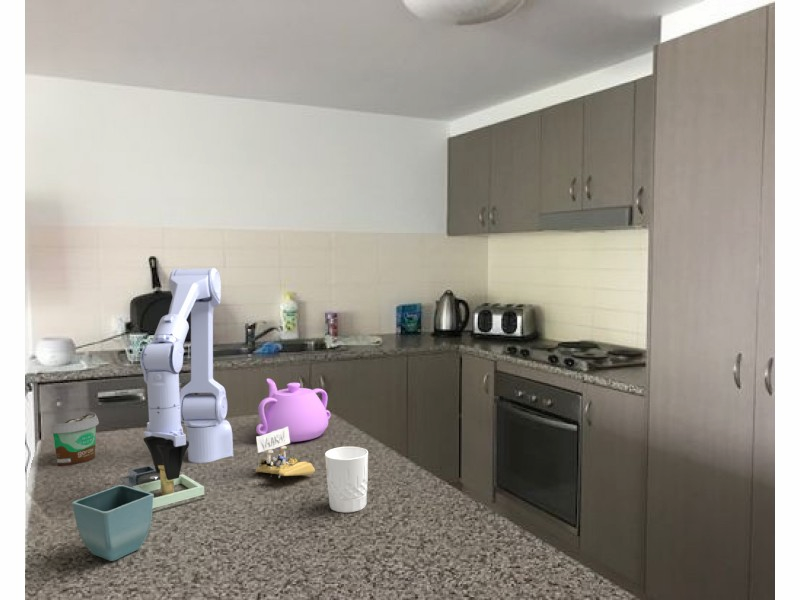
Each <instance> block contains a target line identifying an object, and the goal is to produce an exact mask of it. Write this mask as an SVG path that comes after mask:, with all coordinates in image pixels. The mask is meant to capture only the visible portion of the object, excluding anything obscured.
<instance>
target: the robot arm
mask: <svg viewBox="0 0 800 600" xmlns="http://www.w3.org/2000/svg"><path fill="white" fill-rule="evenodd" d="M168 285H169V291H170V293H171V296H172V299H171V302H170V305H169V310H168V314H165V315H163V316H162V317H161V318H160V320H159V323H158V325H157V328H156V330H155V333H154V335H153V337H152V340H151V343H148V344H147V345H145V346H144V347H142V350H141V353H140V361H139V363H140V369H141V371H142V374H143V381H144V384H146V387H147V388H146V390H147V405H148V422H146V429H145V430H143V431H142V435H143V436H144V437H143V438H142V439H143V442H144V443H145V445H146V447H147V449H148V451H149V453H150V456H151V458H152V462H153V465H154V466H153V467H154V468H155V470H156V472H157V473H160V469H158V465H159V464H160V463H164V469H165V474H166V477H167V480H172V479H176V478H179V476H180V475H181V472H182V471H181V470H182V465H183V462H184V461H183V460H184V457H185V454H186V452H187V457H188V461H189V462H190V463H194V464H196V463H197V464H203V463H210V462H215V461H218V460H222V459H224V458H229V457H234V443H233V429H232V425H231V424H230V422H229V421H228V420H227V419H226V417H227V413H228V399H227V394H226V393H227V392H226V389H225V388H226V387H224V386H223V385H222V384H220V383H219V382H218V381H216V380H215V379H214V363H213V362H214V338H213V337H214V332H213V331H214V309H215V307H217V306H219V305H220V304H221V299H222V298H221V297H222V296H221V295H222V292H221V291H222V288H221V286H222V282H221V276H220V273H219V270H217V269H216V268H215V267H211V268H183V269H182V268H181V269H179V268H174V269H173V270H172V271H171V272H170V274H169V279H168ZM189 315H190V324H189V322H188V321H187V319H188V317H189ZM189 325H190V326H189ZM189 329H190V381H189V382H188V383H186V384H185V385H184V386H183V387H182V388H181V389H180V377H179V375H180V374H179V373H180V372H181V370H182V368H183V363H184V353H185V349H184V343H185V340H186V338H187V334H188V332H189ZM204 393H205V394H204ZM207 393H208V394H207ZM182 423H183V425H184V427H186V433H184V429H183V425H182ZM186 434H187V436H186Z"/></svg>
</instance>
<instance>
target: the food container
mask: <svg viewBox="0 0 800 600" xmlns="http://www.w3.org/2000/svg"><path fill="white" fill-rule="evenodd" d="M99 421H100V420H99V419H98V416H97V414H96V413H95V412H92V411H85V415H83V416H81V417H78V418H72V419H68V420H67V421H65V422H64V423H52V424H51V428H50V434H53V442H54V448H55V455H56V457H55V458H56V464H57V466H58V467H68V466H69V467H70V466H74V465H78V464H83V463H88V462H91V461H92V460H94V459H95V458H96V437H97V436H96V435H97V434H96V432H97V431H96V430H97V426H98V425H99V423H100V422H99ZM90 460H91V461H90Z"/></svg>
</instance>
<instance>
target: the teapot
mask: <svg viewBox="0 0 800 600" xmlns="http://www.w3.org/2000/svg"><path fill="white" fill-rule="evenodd" d="M266 382H267V386H268V397H265V398H264V399H262V400H261V401H260V402H259V403H258V406H257V407H258V408H257V410H258V411H257V412H258V415H259V418H260V423H258V424H257V425H256V428H255V430H256V431H255V432H256V434H258V436H262V435H264V434H268V433H271V432H272V431H276V430H279V429H283V428H285V427H288V430H289V438H290V443H289V444H293V443H298V442H303V441H309V440H314V439H316V438H319V437H320V436H322V435H323V433H324V432H325V431H326V430H327V429H328V427H329V420H330V418H331V416H332V415H331V412H330V410H328V409H327V406H328V398H329V397H328V393H327V392H326V390H324V389H323V388H314V389H311V388H305V387H301V383H300V382H290V383H287V384H286V387H287V388H283V389H279V390H278V388H277V384H276V383H275V381H274V380H273V379H271V378H270V377H268V378H266ZM318 394H321V399H320V398H319V395H318Z"/></svg>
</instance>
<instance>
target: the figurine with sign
mask: <svg viewBox="0 0 800 600" xmlns="http://www.w3.org/2000/svg"><path fill="white" fill-rule="evenodd" d="M255 437H256V439H255V440H256V447H257V453H258V454H260V453H262V452H263V453H264V454H266V459H265V458H262V459H260V460H259V461H260V462H259V465H258V467H256V468H255V473H266V474H269V475H270V474H271V476H270V477H272V475H273V474H275V475H278V479H281V476H282V477H289V476H290V477H291V476H292V477H293V476H310V475H313V474H314V473H315V471H316V469H315V467H314V466H313V464H312V462H307V461H302V460H297V458H295V457H294V458H291V457H290V456H289V457H287V456H286V451H287V450H288V448H287V446H286V445H289V444H291V443H290V438H289V430H288V427H285V428H283V429H279V430H276V431H272V432H271V433H268V434H264V435H258V436H255ZM277 448H280V451H279V453H278V454H277V457H276V456H273V457H271V456H272V454H274V450H275V449H277ZM271 458H272V459H271Z"/></svg>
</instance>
